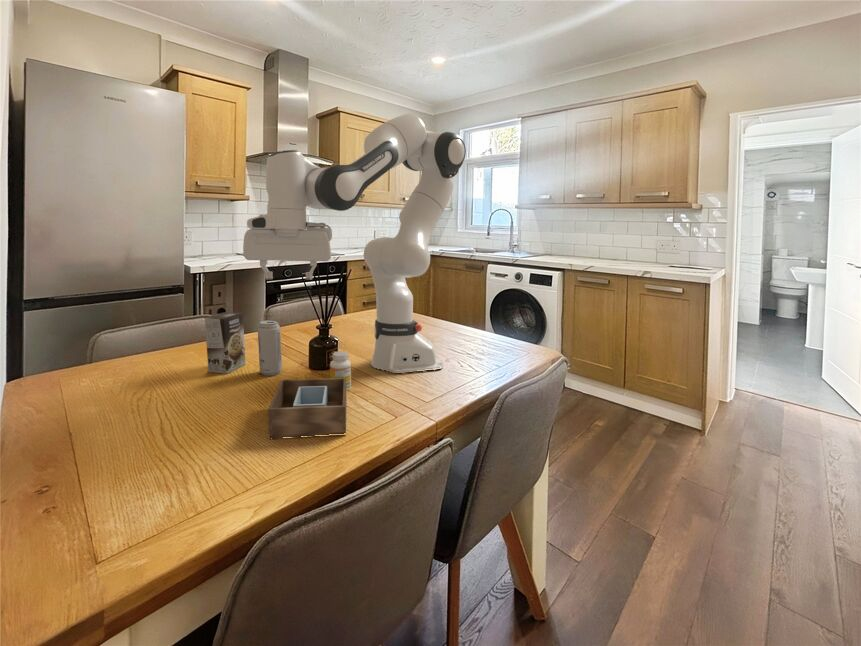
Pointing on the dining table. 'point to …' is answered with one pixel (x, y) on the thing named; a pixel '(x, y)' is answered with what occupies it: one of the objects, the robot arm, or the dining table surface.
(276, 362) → the energy drink can
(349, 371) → the supplement bottle
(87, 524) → the dining table surface
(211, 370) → the coffee box
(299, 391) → the small crate
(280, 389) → the large crate
